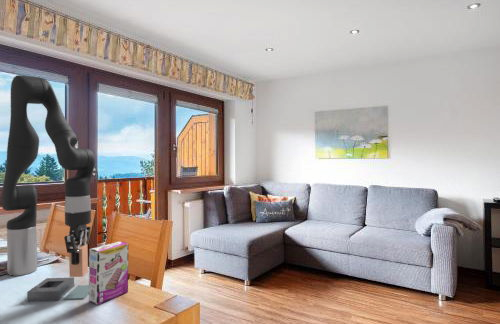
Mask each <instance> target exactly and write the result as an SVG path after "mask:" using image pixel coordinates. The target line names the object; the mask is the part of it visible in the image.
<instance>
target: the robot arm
mask: <svg viewBox="0 0 500 324" xmlns="http://www.w3.org/2000/svg"><path fill="white" fill-rule="evenodd" d="M28 104H29V105H30V104H34V105H42V106H44V108H45V110H46V117H45V122H44V128H45V131H46V134H47V135H48V138H49V139H50V140H51V142H52V143H53V145H54V148H55V153H56V157H57V162H58V164H59V165H60V166H61V168H62V169H64V170H66V171H76V173H75V175H74V176H72V177H69V178H67V179H66V180H65V186H64V188H65V190H64V191H65V195H64V196H65V197H64V198H65V199H64V224H65V226H67V227H69V232H68V233H69V234H68V235H65V236H64V243H65V248H66V252H67V254H69V253H71V264H72V265H77V264H79V250H80V246H81V245H87V246H88V245H89V243H90V237H91V230H92V229H91V226H87V225H89V224H91V223H92V202H91V201H92V200H91V194H90V193H91V192H90V191H91V189H90V188H91V185H90V183H91V179H92V175H93V172H94V169H95V164H96V157H95V154H94V153H93V152H94V151H92V150H91V149H89V148H85V147H84V148H82V147H80V148H79V147H78V148H77V147H76V148H75V146H76V145H77V143H78V136H77V135H76V133H75V132H74V129H73V128H72V127H71V126H70V124H69V123H68V121H67V119H66V117H65V115H64V113H63V111H62V108H61V105H60V102H59V99H58V98H57V95H56V92H55V90H54V88H53V87H52V85H51V83H50V81H49V80H48V79H46V78H44V77H40V76H39V77H38V76H31V75H21V74H20V75H14V77H13V79H12V81H11V84H10V121H9V131H8V139H7V147H6V166H5V175H4V178H3V179H4V180H3V183H2V189H1V195H0V204H1V208H2V209H3V211H7V212H8V211H11V212H12V211H20V210H24V211H23V212H22V213H21V214H19V215H18V216H16V217H15V216H14V217H13V218H11V219H9V220H8V221H6V246H7V247H6V254H7V255H6V256H7V261H6V263H7V267H6V268H7V275H8V274H9V275H8V276H11V275H13V276H15V277H16V276H24V275H29V274H31V273H34V272H36V271H37V269H38V243H37V217H38V215H37V210H38V209H37V208H38V207H37V206H38V192H37V191H38V190H37V188H36V186H34V185H33V184H26V185H17V184H18V182H19V179H20V177H22V176H23V174H24V172H26V171H27V170H28V168H30V167H31V165H33V164H34V162H35V161H36V159H37V157H38V156H39V155H38V154H39V148H40V137H39V135H38V133H37V131H36V130H35V128H34V126H33V125H32V123H31V122H30V119H29V118H28V109H27V108H28ZM76 246H77V248H76Z"/></svg>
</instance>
